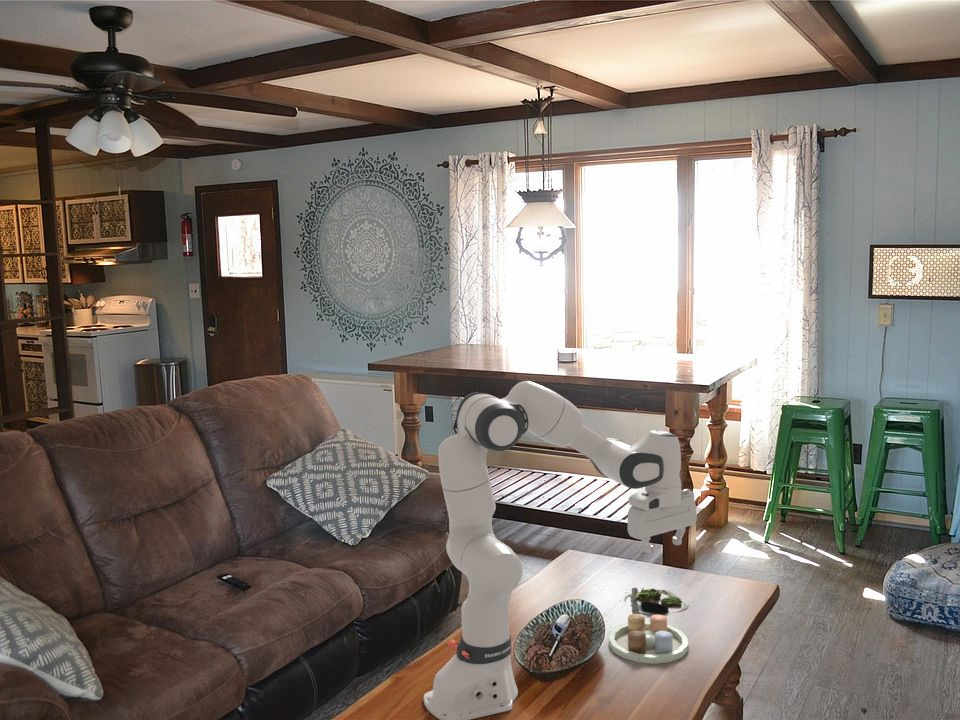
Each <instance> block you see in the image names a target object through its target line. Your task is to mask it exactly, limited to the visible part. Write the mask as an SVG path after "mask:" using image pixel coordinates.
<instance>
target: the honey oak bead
mask: <svg viewBox="0 0 960 720" xmlns="http://www.w3.org/2000/svg"><path fill="white" fill-rule="evenodd" d="M645 622H646V618H645V615H643V614H634V613H632V614H631V613H630V614H629V615H628V616H627V623H628V633H629V632H630V631H645Z"/></svg>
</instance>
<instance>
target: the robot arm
mask: <svg viewBox="0 0 960 720" xmlns="http://www.w3.org/2000/svg"><path fill="white" fill-rule="evenodd" d="M453 431H454V433H455V434H452V435H449V436H448V437H446V438H445V439H443V441H441V443H440V444H439V446H438V451H437V453H438V454H437V456H438V457H437V458H438V471H439V477H440V483H441V487H442V492H443V496H444V501H445V505H446V511H447V515H448V523H449V524H448V526H449V527H448V529H449V530H448V531H449V535H448V537H447V540H446V543H445V545H446V546H445V549H446V550H445V551H446V553H447V556H448V557H449V560H450V561H451V563H452V564H453V566H454V567H455V568H456V569H457V570H458V571H460V572H461V573H462V574H464V575H465V576H466V577H467V580H468V585H469V587H468V595H467V597H466V599H465V600H464V601H463V603H462V605H461V607H460V608H461V609H460V610H461V632H462V633H461V634H462V635H461V636H460V639H459V642H457V641H456V640H455V639H450V640H448V642H447V646H448V648H450V649H451V650H452V651H455V654H454V655H453V656H452V657H451V658H450V659H449V660H448V662H446V664H445V665H444V666H443V667H441V669H440V670H438V672H437V673H436V674H435V676H434V678H433V679H434V680H433V686H432V689H431V690H430V691H427V692H425V693H424V694H423V704H424V706H425V708H426V709H427V711H428V712H429V713H431V714H432V716H434V717H436V719H438V720H473V719H478V718H482V717H486V716H492V715H495V714H499V713H504V712H508V711H511V710H512V709H513V703H514V701H515V700H516V698H517V696H518V694H519V693H518V692H519V689H518V687H517V684H516V681H515V676H514V672H513V668H512V666H513V665H512V660H511V659H512V658H511V654H512V650H513V649H512V636H511V633H510V624H509V623H510V622H509V621H510V620H509V618H510V617H509V610H510V608H509V606H510V600H511V595H512V592H513V590H514V589H515V588H517V586H518V585H519V583H520V581H521V580H522V577H523V564H522V561H521V560H520V558H519V557H518V556H517V554H516V553H515V551H513V549H512V548H511V547H509V545H507V544H505V543H504V542H503V541H501V540H499V539H498V538H497V536H496V535H495V534H494V530H493V525H492V523H493V516H494V514H495V511H496V507H497V505H496V501H495V497H494V491H493V487H492V483H491V479H490V474H489V469H488V466H487V455H488V452H489V450H490V451H494V452H504V451H507V450H510V449H511V448H513V447H514V446H516V444H517V443H518V442H519V441H520V439H521V437H522V436H523V435H524V434H525V433H526V432H530V433H531V434H532V435H534V436H536V437H538V438H539V439H541V440H542V441H544V442H547V443H549V444H551V445H553V446H557V447H560V448H565V447H570V448H572V449H573V450H576V451H577V452H579V453H580V454H581V455H583V456H585V457H586V458H588V460H589V461H590V462H591V464H592V465H593V467H594V469H595V470H596V471H597V473H598V474H600V475H601V476H602V477H604V478H605V477H606V478H608V479H610V480H612V481H615V482H616V483H618V484H620V485H621V486H624V487H626V488H629V489H632V490H633V489H634V490H635V489H636V490H638V489H639V490H638V491H636V492H635V493H633V494H631V495H630V496H629V497H628V505H630V507H629V509H628V513H627V532H628V535H629V536H630V537H632V538H634V539H637V540H640V541H641V543H642V545H643V546H644V549H643V551H644V553H646V554H651V553H654V545H653V544H651V543H650V541H651V537H654V536H657V535H660V534H665V533H668V532H671V531H675V530H676V531H675V534H674V536H672V544H673V546H674V545H675V546H680V545H682V541H683V537H684V534H685V533H686V528H687V527H690V526H693V525H695V524H696V522H697V520H698V515H697V507H696V502H695V501H696V500H695V493H694V492H693V490H691V489H689V488H685V489H683V490H682V480H681V476H680V472H681V468H682V454H681V445H680V440H679V438H678V436H676V435H675V434H674V433H671V432H668V431H665V430H664V431H663V430H660V429H651V430H648V431H647V432H646V434H645V435H644V437H642V438H641V439H640V440H639V441H637V442H636V443H634V444H632V445H630V444H628V443H626V442H624V441H622V440H621V439H618V438H613V437H604V436H601V435H600V434H599V433H596V432H595V431H594V430H592V429H590V428H589V427H588V426H586V425H584V415H583V412H582V411H581V410H579V408H577V406H576V405H574V404H573V403H572V402H571V401H570V400H568V399H567V398H565V397H563V395H560V394H559V393H557V392H556V391H554V390H552V389H550V388H548V387H546V386H543V385H541V384H539V383H536V382H533V381H530V380H522V381H520V382H517V384H515V385H514V386H513V387H512V388H511V389H510V391H509V392H508V395H506V396H505V397H503V398H499V397H496V396H494V395H491V394H490V393H487V392H485V391H483V392H482V391H475V392H472V393H469V394H467V395H466V396H464V397H463V398H462V399H461V401H460V402H459V403H458V407H457V410H456V415H455V420H454V423H453Z"/></svg>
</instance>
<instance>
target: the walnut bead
mask: <svg viewBox="0 0 960 720" xmlns="http://www.w3.org/2000/svg"><path fill="white" fill-rule="evenodd" d="M628 651H632V652H635V653H639V654H646V634H645V633H644V632H642V631H630V632H629V633H628Z"/></svg>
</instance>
